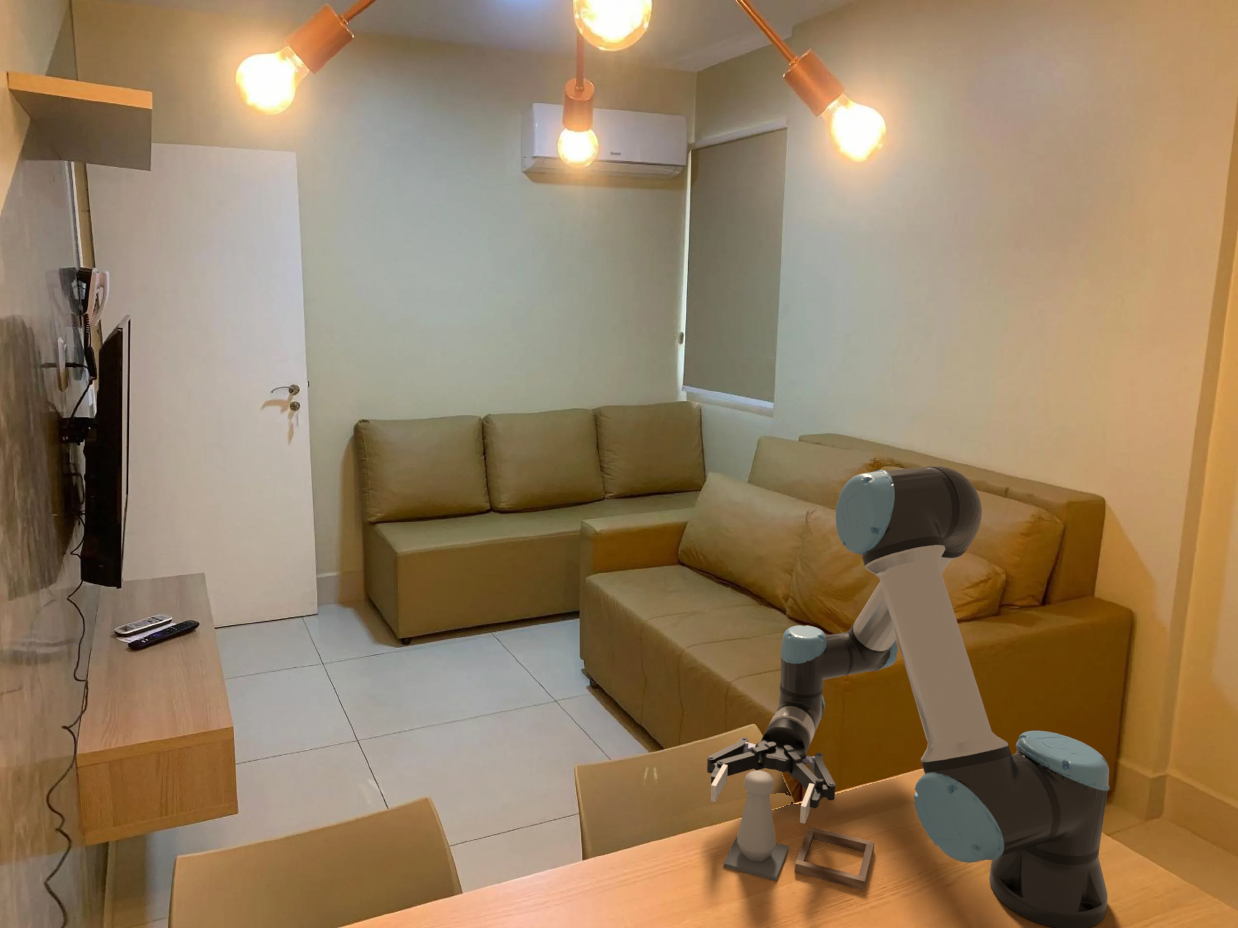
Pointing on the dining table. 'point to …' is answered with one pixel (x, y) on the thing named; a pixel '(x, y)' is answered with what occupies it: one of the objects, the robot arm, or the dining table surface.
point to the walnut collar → (830, 873)
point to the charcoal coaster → (762, 869)
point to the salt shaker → (757, 818)
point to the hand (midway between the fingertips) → (757, 803)
